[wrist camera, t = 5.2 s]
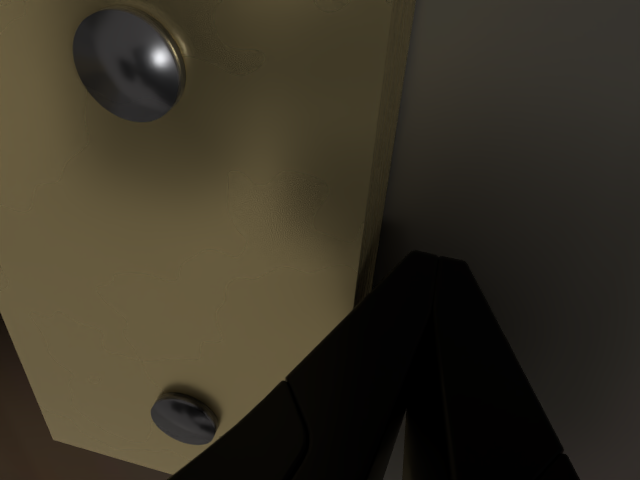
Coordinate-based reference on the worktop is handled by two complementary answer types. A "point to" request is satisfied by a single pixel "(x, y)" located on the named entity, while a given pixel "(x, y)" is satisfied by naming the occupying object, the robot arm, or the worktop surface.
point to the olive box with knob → (187, 203)
